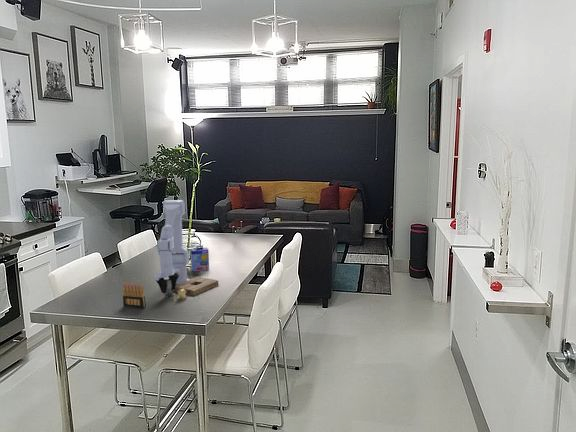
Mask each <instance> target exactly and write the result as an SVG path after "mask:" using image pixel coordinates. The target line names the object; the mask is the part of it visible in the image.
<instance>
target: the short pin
mask: <svg viewBox="0 0 576 432" xmlns="http://www.w3.org/2000/svg"><path fill="white" fill-rule="evenodd" d="M177 298H178V299H177V300H178V301H185V300H186V299H187V294H186V290H185V289H178V292H177Z"/></svg>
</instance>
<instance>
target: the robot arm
mask: <svg viewBox="0 0 576 432" xmlns="http://www.w3.org/2000/svg"><path fill="white" fill-rule="evenodd" d="M162 205H163V206H162V207H163V208H162V209H163V212H164V214H165V220H164V221H165V222H164V226H162V228H161V232H160V238H159V240H157V242H156V249H157V253H158V256H159V265H160V266H159V267H160V273H158V274H157V275H154V276H153V277H154V278H153V281H155V282H156V284H157V285H158V286H159V289H160V292H161V293H162V294H165V293H166V282H167V280H165V279H166V278H167V277H168V279H171V282H172V291H173V290H174V289H175V286H176V285H178V284H180V283H183V282H185V281H188V280H191V279H192V278H191V279H190V278H188V269H187V268H188V267H187V265H189V262H190V252H189V249H187V248H185V247H184V245H183V243H184V242H183V241H184V240H183V220H182V219H183V216H184V215H186V206H185V205H186V204H185V201H184V200H183V199H178V200H177V199H176V200H173V199H170V200H166V199H165V200H164V201H163V204H162Z"/></svg>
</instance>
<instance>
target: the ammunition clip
mask: <svg viewBox="0 0 576 432" xmlns="http://www.w3.org/2000/svg"><path fill="white" fill-rule="evenodd" d="M122 286H123V287H122V294H123V295H122V305H123V306H124V308H137V309H145V308H146V307H147V306H146V298H145V297H146V296H145V292H144V286H143V283H142V282H140V283H139V281H136V282H135V281H133V282H132V281H130V282H129V281H128V280H126V281H125V280H123V283H122Z"/></svg>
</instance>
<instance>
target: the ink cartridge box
mask: <svg viewBox="0 0 576 432" xmlns="http://www.w3.org/2000/svg"><path fill="white" fill-rule="evenodd" d="M189 250H190V261H191V262H190V264H191V265H190V267H191V271H192V272H199V271H200V270H202V271H209V270H210V258H209V248H208V247H203V245H196V247H195V248H191V249H189ZM208 269H209V270H208ZM200 272H201V271H200Z"/></svg>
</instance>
